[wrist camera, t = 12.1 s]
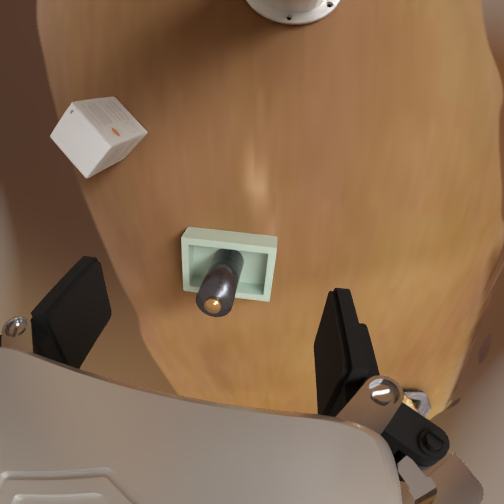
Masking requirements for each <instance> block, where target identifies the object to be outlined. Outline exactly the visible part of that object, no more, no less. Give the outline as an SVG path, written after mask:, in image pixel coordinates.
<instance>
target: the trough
mask: <svg viewBox="0 0 504 504" xmlns="http://www.w3.org/2000/svg"><path fill="white" fill-rule="evenodd" d="M181 247H182V271H183V290H184V291H190V292H197V293H198V291H199V289H200V287H201V284H202V282H203V280H204V277H205V275H206V273H207V271H208V268H209V266H210V264H211V262H212V259H213V257H214V255H215V253H216V252H217V251H218V250H219V249H221V248H222V249H231V250H237V251H239V252H240V253H241V255H242V256H243V259H244V264H243V268H242V272H241V275H240V279H239V283H238V286H237V290H236V294H235V298H243V299H251V300H260V301H268V302H269V301H270V294H271V287H272V280H273V273H274V266H275V258H276V251H277V236H269V235H260V234H251V233H242V232H233V231H224V230H215V229H205V228H196V227H188V228H187V229H186V231H185V232H184V234H183V235H182V237H181Z"/></svg>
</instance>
